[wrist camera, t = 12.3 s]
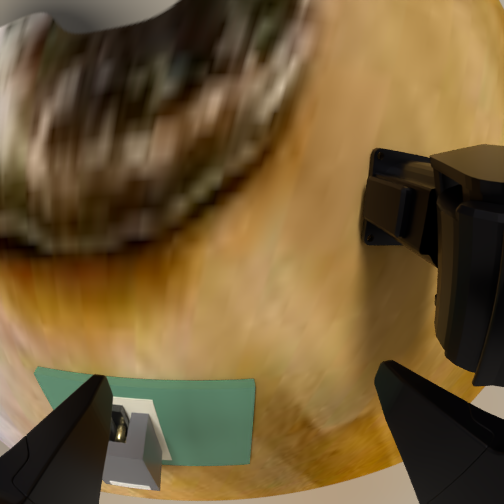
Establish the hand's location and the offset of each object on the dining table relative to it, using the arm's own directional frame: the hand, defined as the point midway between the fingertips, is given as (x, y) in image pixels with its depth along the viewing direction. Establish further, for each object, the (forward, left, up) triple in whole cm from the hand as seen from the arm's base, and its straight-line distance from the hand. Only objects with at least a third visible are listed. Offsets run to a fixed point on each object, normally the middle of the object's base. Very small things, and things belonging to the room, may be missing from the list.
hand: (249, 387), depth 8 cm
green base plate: (+8, +18, -11) cm, 23 cm away
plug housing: (+10, +18, -10) cm, 23 cm away
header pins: (+10, +18, -10) cm, 23 cm away
